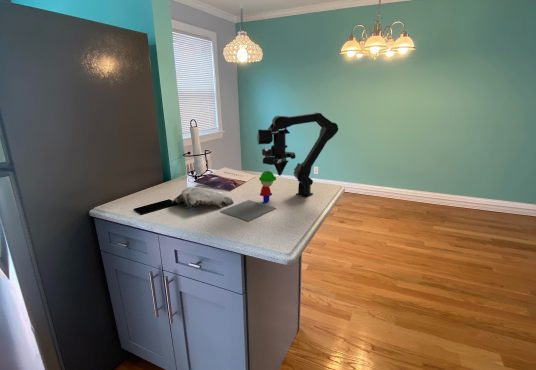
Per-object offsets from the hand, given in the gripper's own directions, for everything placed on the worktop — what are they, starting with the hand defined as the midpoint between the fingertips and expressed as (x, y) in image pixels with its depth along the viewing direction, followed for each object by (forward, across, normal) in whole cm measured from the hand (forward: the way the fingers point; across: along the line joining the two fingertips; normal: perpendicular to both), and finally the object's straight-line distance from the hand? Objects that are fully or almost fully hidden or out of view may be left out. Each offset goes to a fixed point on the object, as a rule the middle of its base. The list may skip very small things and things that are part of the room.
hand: (279, 175), depth 146 cm
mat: (+11, +22, 0) cm, 25 cm away
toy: (+11, +9, 0) cm, 14 cm away
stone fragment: (+12, +29, -25) cm, 40 cm away
